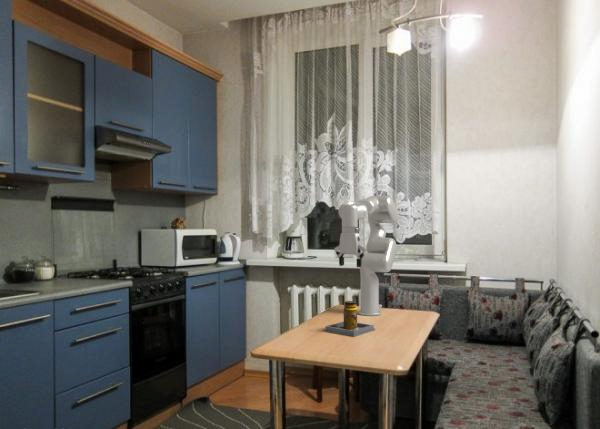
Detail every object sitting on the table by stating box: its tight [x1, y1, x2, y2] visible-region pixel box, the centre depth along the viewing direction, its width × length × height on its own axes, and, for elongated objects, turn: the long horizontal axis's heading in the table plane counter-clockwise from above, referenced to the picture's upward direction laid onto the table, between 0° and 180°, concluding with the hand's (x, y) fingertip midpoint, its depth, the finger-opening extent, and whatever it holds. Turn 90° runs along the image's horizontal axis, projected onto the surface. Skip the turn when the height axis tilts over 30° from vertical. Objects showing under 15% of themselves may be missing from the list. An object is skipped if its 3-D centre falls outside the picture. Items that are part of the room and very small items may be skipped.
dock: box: [323, 320, 376, 338], centre depth 220 cm, size 17×16×2 cm
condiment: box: [337, 300, 358, 330], centre depth 221 cm, size 7×8×12 cm
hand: (350, 266), depth 236 cm, fingers open, 9 cm apart
